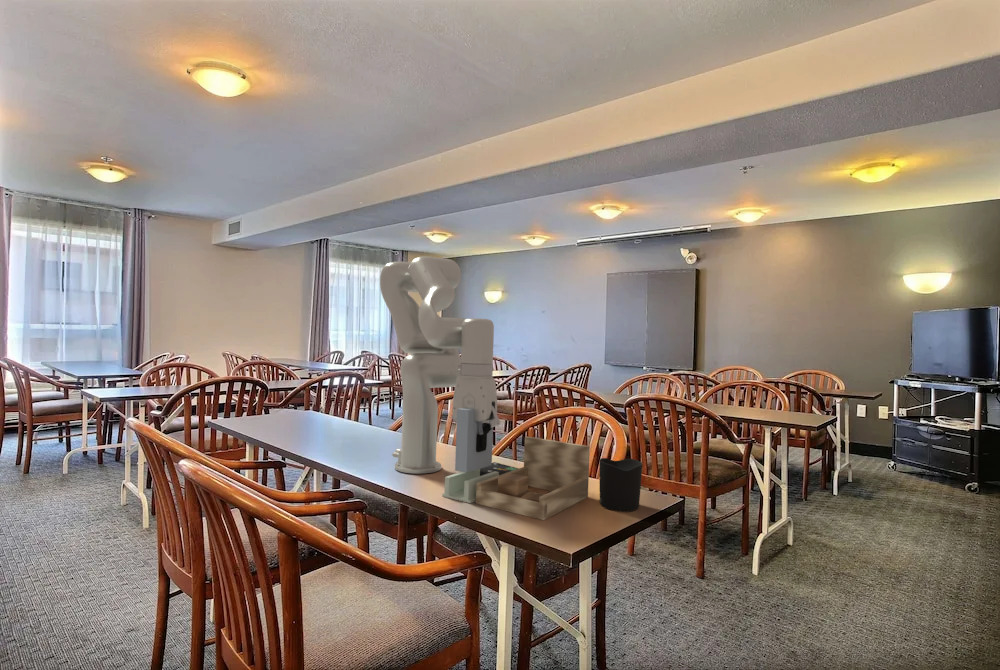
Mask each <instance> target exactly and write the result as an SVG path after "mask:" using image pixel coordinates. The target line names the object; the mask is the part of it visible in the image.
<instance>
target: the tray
mask: <svg viewBox="0 0 1000 670" xmlns="http://www.w3.org/2000/svg"><path fill="white" fill-rule="evenodd" d="M590 447H591V446H590V445H583V444H579V443H578V444H577V443H572V442H564V441H560V440H559V441H558V440H552V439H545V438H539V437H535V436H534V437H532V436H525V437H524V451H523V452H524V453H523V454H524V455H523V467H518V468H519V469H516V470H513V471H510V472H507V473H504V474H502V475H499V476H496V477H493V478H490V479H487V480H484V481H481V482H478V483H477V488H476V501H475V504H477V505H480V506H485V507H489V508H494V509H497V510H502V511H505V512H510V513H514V514H516V515H517V514H518V515H522V516H525V517H530V518H534V519H537V520H542V521H545V520H547V519H549V518H551V517H553V516H554V515H556V514H558V513H560V512H562V511H564V510H566V509H568V508H570V507H572V506H574V505H575V504H577V503H580V502H581V501H583V500H585V499H587V498H589V479H590V477H589V475H590V474H589V473H590V453H591V452H590V450H591V448H590ZM508 473H510V474H516V475H522V476H528V487H532V488H536V489H542V490H547V491H549V492H547V493H546V494H545V495H543V496H541V497H539V502H536V501H531V500H527V499H523V498H518V497H514V496H509V495H505V494H501V493H497V491H498V478H499V477H501V476H503V475H506V474H508Z"/></svg>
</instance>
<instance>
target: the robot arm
mask: <svg viewBox="0 0 1000 670" xmlns="http://www.w3.org/2000/svg"><path fill="white" fill-rule="evenodd" d="M379 276H380V277H379V286H380V292H381V296H382V298H383V300H384V302H385V305H386V307H387V309H388V310H389V313H390V315H391V319H392V323H393V326H394V331H395V335H396V338H397V342H398V345H399V347H400V350H401V351H402V352H404V353H405V354H406V353H407V354H408V355H407V356H405V357H404V358H403V359H402V361H401V363H400V367H399V368H400V378H401V385H402V386H401V387H402V422H401V423H402V424H401V428H402V429H401V446H400V447H401V448H397V449H395V451H394V452H392V454H391V456H392V457H394V458H397V462H396V463H394V469H395V470H396V471H397V472H401V473H404V474H414V475H415V474H417V475H418V474H421V475H423V474H430V473H431V474H432V473H436V472H439V471H440V470H441V469H442V463H441V462H440V461H437V439H438V417H439V415H438V411H439V406H438V400H437V398H436V396H435V395H434V393H433V392H432V390H431V389H434V388H452V387H454V390H453V391H454V392H453V399H452V415H451V419H452V420H453V422H455V423H456V424H457V409H461V408H465V409H474V421H477V422H478V432H479V434H478V435H477V438H476V451H477V452H482V451H485V450H486V446H487V434H488V433H489V431H490V430H491V429H492V428H493V429H494V427H495V428H496V427H497V426H498V425H500V424H501V421H500V418H499V416H498V397H497V396H498V395H497V385H496V380H495V377H493V374H494V372H493V371H494V367H493V365H494V339H495V338H494V335H495V333H494V332H495V325H494V322H493V321H492V320H491V319H487V318H475V317H474V318H473V317H472V318H461V317H448V316H447V317H445V316H440V315H439V314H438V313H439V312H441V311H443V310H446V309H447V308H448V307H449V306H450V305H452V303H453V302H454V299H455V296H456V292H455V289H456V288H457V287H458V285H459V284H460V282H461V280H462V279H461V278H462V273H461V269H460V267H459V265H458V264H457V262H456V261H454V260H453V259H450V258H444V257H434V256H430V255H429V256H428V255H425V256H424V255H423V256H418V257H415V258H413V259H412V261H391V262H388V263H386V264H385V265H384V266H383V267H382V268H381V271H380V275H379ZM408 292H409V293H410V292H411V293H418V295H420V298H421V300H422V301H421V303H420V305H419V304H418V302H417V301H416V300H415V299H414V298H413V297H412V296H411V295H410V294H409V293H408ZM459 350H460V352H459ZM489 420H491V422H490V423H489ZM483 423H484V424H483Z"/></svg>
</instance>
